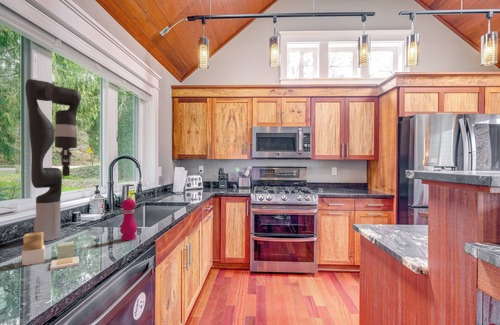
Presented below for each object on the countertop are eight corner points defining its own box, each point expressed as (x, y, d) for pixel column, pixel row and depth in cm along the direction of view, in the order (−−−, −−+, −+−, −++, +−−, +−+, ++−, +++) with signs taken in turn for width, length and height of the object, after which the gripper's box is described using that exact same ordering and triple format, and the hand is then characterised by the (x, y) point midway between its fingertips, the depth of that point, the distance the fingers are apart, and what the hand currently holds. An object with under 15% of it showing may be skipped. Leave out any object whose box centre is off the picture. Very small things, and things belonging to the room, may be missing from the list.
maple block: (23, 251, 95) (23, 236, 95) (26, 247, 99) (26, 233, 99) (41, 248, 97) (41, 234, 97) (43, 245, 101) (43, 231, 101)
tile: (50, 270, 90) (50, 267, 90) (51, 262, 97) (51, 260, 97) (78, 265, 94) (78, 262, 94) (78, 258, 101) (78, 255, 101)
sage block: (57, 260, 100) (57, 246, 100) (58, 256, 104) (58, 243, 104) (73, 257, 102) (73, 244, 102) (73, 253, 106) (73, 241, 106)
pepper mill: (140, 237, 129) (140, 195, 129) (129, 241, 122) (128, 197, 123) (128, 236, 132) (128, 194, 132) (116, 240, 125) (116, 196, 125)
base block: (22, 266, 94) (22, 251, 94) (24, 261, 99) (24, 247, 99) (43, 262, 97) (43, 248, 97) (44, 258, 102) (44, 244, 102)
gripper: (76, 135, 109) (77, 176, 109) (76, 138, 121) (76, 175, 121) (53, 134, 105) (53, 176, 105) (55, 137, 117) (56, 175, 117)
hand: (66, 175), depth 113 cm, fingers open, 8 cm apart
